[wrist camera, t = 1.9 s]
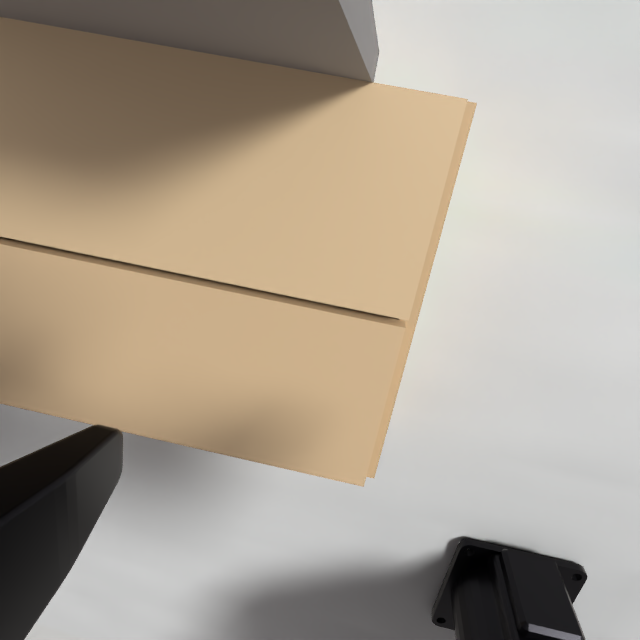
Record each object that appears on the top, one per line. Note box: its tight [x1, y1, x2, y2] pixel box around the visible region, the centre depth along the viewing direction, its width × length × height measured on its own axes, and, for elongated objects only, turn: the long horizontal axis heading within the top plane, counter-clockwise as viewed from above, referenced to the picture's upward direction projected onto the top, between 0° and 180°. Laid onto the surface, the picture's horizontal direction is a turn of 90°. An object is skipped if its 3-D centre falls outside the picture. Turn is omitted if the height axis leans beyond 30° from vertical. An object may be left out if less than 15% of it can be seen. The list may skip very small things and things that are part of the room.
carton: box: [0, 102, 477, 487], centre depth 18 cm, size 14×18×5 cm
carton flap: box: [0, 0, 468, 321], centre depth 10 cm, size 7×17×10 cm, turn 80°
